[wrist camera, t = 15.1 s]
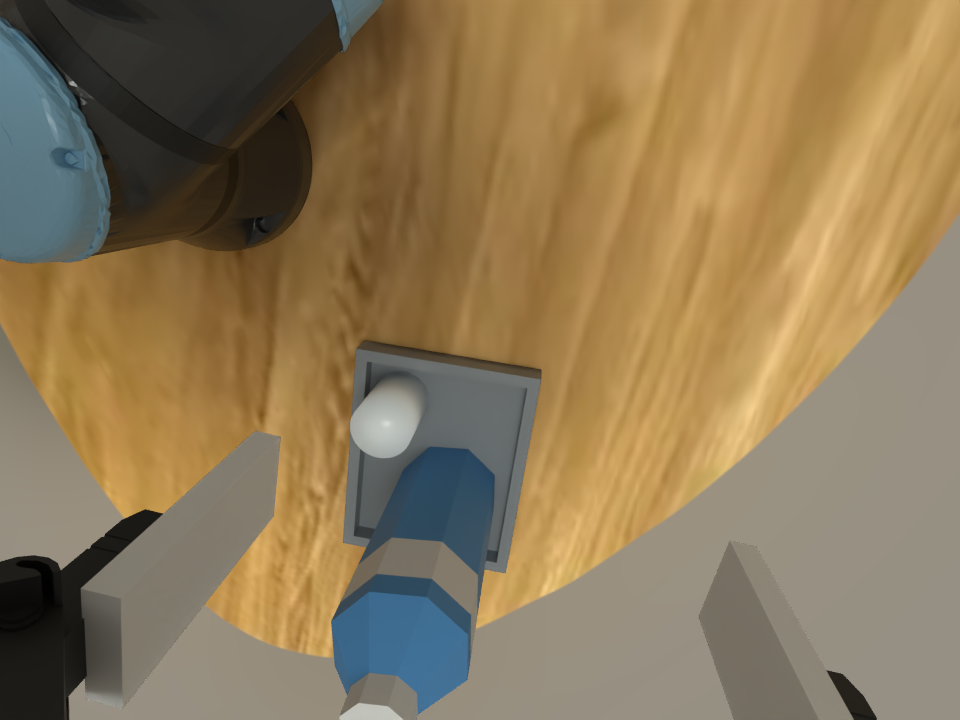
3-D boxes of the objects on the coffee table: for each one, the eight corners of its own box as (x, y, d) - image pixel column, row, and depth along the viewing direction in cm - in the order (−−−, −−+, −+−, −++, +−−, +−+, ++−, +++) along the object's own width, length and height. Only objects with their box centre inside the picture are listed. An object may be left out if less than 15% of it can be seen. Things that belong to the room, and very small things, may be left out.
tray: (351, 527, 58) (342, 542, 56) (365, 340, 52) (356, 348, 49) (507, 556, 57) (505, 573, 55) (541, 369, 51) (541, 379, 48)
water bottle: (385, 460, 54) (261, 683, 31) (476, 431, 52) (419, 646, 29) (423, 541, 57) (336, 805, 33) (512, 516, 55) (486, 779, 31)
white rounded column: (372, 417, 53) (348, 452, 46) (377, 366, 51) (352, 395, 45) (425, 426, 53) (408, 463, 46) (431, 376, 51) (414, 406, 44)
